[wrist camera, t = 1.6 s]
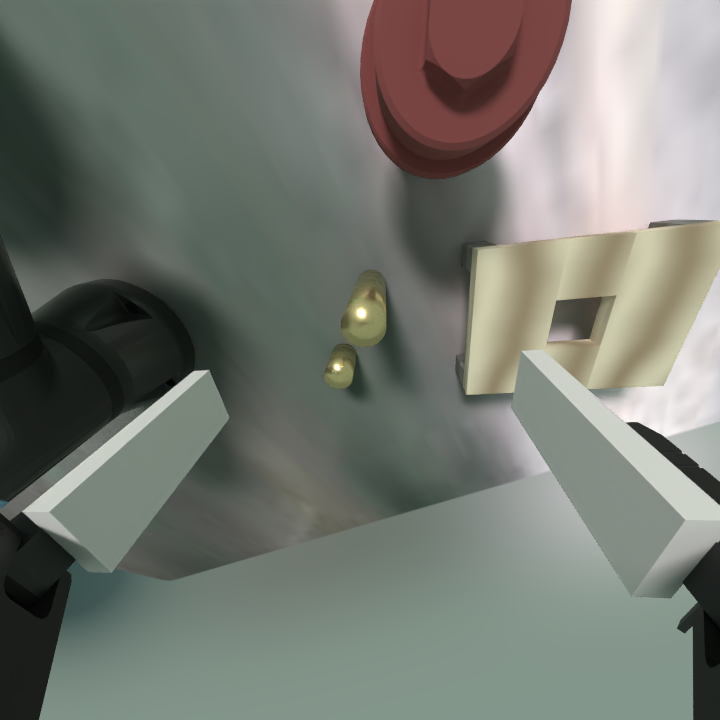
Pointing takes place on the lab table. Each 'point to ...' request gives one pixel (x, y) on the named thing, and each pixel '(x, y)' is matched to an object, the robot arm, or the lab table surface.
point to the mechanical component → (455, 77)
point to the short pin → (341, 366)
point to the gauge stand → (585, 280)
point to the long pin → (366, 311)
